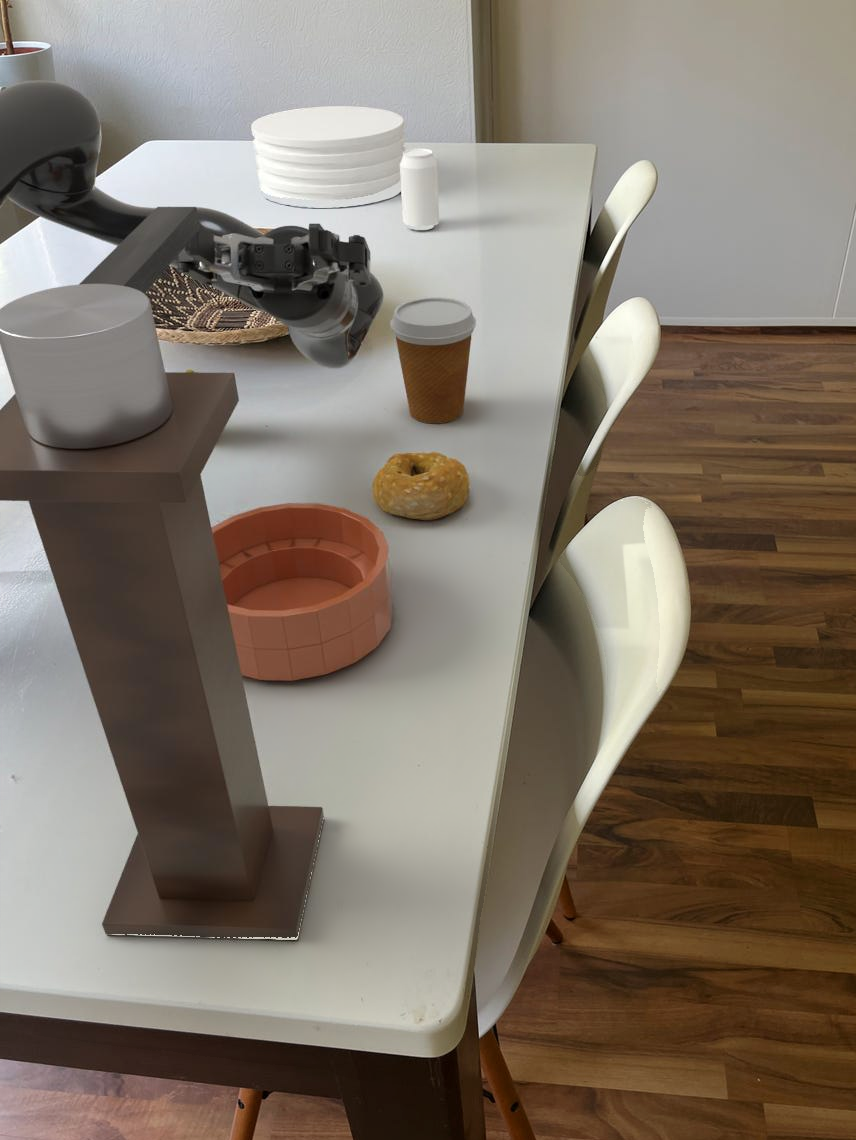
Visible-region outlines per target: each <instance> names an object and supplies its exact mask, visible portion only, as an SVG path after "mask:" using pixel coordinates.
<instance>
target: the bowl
mask: <svg viewBox="0 0 856 1140" xmlns="http://www.w3.org/2000/svg"><path fill="white" fill-rule="evenodd" d="M211 528H212V533H213V538H214V543H215V548H216V553H217V558H218V562H219V567H220V572H221V577H222V582H223V587H224V592H225V597H226V601H227V606H228V611H229V616H230V621H231V626H232V631H233V636H234V640H235V645H236V650H237V655H238V660H239V665H240V670H241V675H242V677H247V678H250V679H254V680H258V681H292V682H293V681H298V680H302V679H309V678H314V677H320V676H325V675H328V674H330V673H334V672H336V671H337V670H341V669H344V668H345V667H348V666H350V665H352V664H355V663H357V662H358V661H360V660H361V659H362V658H364V657H365V656H366V655H368V654H369V653H371V652H372V651H373V650H375V649H376V648H377V647H378V646H379V645H380V643H381V642H382V641H383V639H384V638H385V636H386V635H387V634H388V632H389V631H390V630H391V626H392V621H393V615H394V612H395V611H394V608H395V607H394V598H393V585H392V570H391V559H390V548H389V545H388V543H387V540H386V538H385V535H384V532H383V531H382V530H381V529H380V528H379V527H378V526H377V525H376V524H375V523H373V522H372V521H371V520H370V519H369V518H367V517H365V516H363V515H361V514H359V513H356V512H354V511H353V510H349V509H347V508H345V507H339V506H334V505H329V504H324V503H318V502H317V503H313V502H311V503H309V502H308V503H306V502H303V503H302V502H287V503H281V504H274V505H268V506H266V505H265V506H260V507H256V508H254V509H253V508H252V509H251V510H247V511H244V512H241V513H238V514H235V515H231V516H229V517H228V518H226V519H224V520H222V521H220V522H219V523H217V524H215V525H213V526H211Z"/></svg>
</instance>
